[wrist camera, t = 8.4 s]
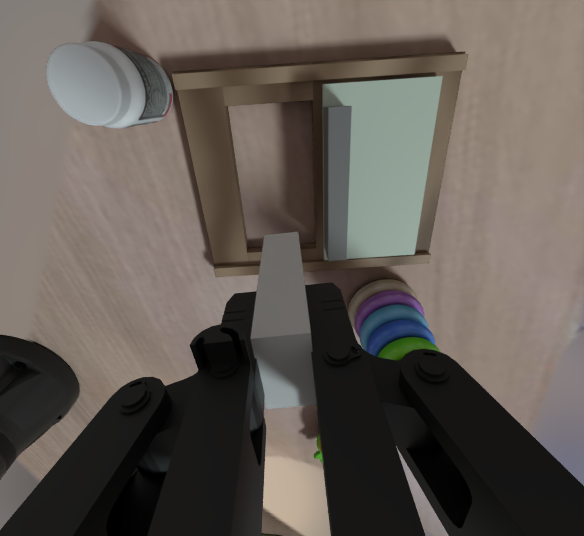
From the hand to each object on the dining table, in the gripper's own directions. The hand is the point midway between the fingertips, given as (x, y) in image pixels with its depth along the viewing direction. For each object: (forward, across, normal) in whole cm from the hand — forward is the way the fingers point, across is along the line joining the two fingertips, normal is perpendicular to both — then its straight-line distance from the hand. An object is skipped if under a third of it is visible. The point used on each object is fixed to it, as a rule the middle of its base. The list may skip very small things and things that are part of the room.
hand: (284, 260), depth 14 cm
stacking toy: (+16, +10, -16) cm, 25 cm away
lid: (+15, +8, -1) cm, 17 cm away
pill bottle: (+16, -10, +8) cm, 21 cm away
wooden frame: (+16, +3, 0) cm, 17 cm away
